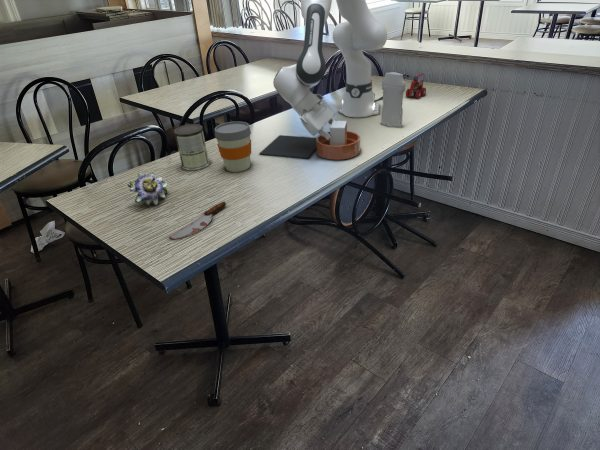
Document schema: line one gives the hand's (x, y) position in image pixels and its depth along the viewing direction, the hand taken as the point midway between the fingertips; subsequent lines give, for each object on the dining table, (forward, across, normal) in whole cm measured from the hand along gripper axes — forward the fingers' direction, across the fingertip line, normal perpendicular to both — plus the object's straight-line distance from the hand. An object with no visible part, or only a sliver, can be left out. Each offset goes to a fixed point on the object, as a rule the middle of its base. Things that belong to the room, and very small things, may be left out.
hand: (333, 133), depth 156 cm
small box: (+6, 0, +4) cm, 7 cm away
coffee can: (-28, -23, +39) cm, 53 cm away
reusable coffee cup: (-16, -21, +27) cm, 38 cm away
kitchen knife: (-10, -59, +20) cm, 63 cm away
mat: (-7, +1, +17) cm, 19 cm away
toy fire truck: (+19, +78, -9) cm, 81 cm away
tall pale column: (+16, +33, -6) cm, 37 cm away
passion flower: (-27, -51, +38) cm, 69 cm away
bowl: (+6, 0, +4) cm, 7 cm away
